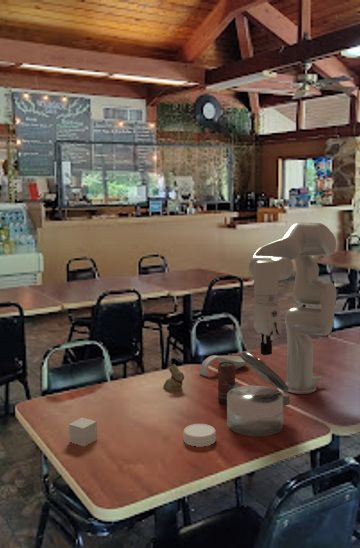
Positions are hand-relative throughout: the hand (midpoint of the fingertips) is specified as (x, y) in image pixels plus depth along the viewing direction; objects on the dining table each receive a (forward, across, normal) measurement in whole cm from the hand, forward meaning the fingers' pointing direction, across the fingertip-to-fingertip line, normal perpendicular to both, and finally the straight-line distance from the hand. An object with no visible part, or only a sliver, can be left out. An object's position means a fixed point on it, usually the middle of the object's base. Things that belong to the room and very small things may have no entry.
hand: (266, 354), depth 182 cm
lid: (+6, 0, +2) cm, 7 cm away
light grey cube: (+23, +10, +59) cm, 64 cm away
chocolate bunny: (+24, +41, +17) cm, 51 cm away
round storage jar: (+23, +3, +4) cm, 24 cm away
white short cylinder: (+23, -4, +26) cm, 35 cm away
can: (+24, +21, +4) cm, 32 cm away
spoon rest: (+24, +54, -11) cm, 60 cm away
